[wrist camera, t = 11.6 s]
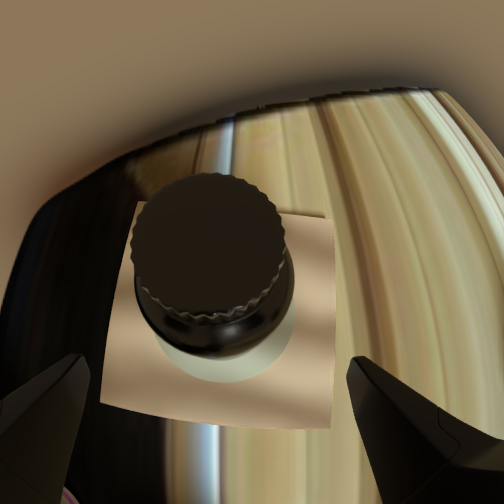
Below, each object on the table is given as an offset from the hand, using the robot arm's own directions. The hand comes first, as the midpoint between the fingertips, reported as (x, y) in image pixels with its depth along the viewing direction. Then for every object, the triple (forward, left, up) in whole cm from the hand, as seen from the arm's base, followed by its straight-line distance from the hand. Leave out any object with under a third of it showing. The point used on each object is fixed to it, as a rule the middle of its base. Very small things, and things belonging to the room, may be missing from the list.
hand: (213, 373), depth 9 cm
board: (+4, 0, -11) cm, 12 cm away
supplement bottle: (+4, +1, -10) cm, 11 cm away
